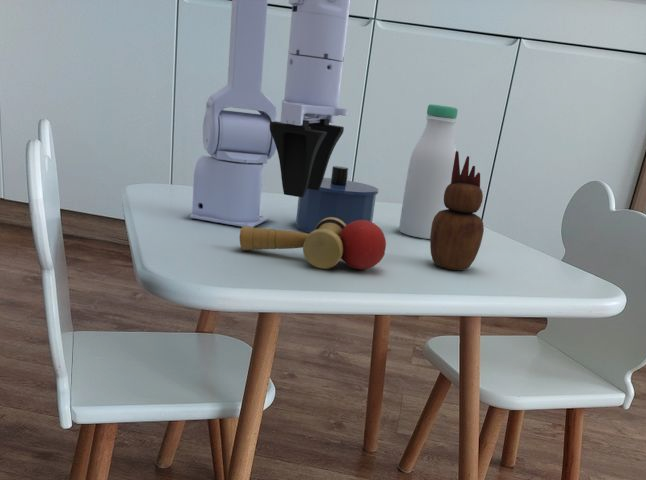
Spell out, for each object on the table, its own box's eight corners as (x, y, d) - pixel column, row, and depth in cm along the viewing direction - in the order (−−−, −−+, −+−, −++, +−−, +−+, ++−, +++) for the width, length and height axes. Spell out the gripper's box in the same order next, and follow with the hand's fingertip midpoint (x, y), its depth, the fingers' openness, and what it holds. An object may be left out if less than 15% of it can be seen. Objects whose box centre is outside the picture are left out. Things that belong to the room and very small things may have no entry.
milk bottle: (439, 242, 107) (463, 108, 100) (392, 233, 109) (412, 101, 102) (449, 235, 114) (472, 109, 107) (405, 227, 116) (424, 102, 109)
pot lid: (287, 189, 99) (290, 164, 97) (309, 181, 110) (311, 158, 109) (370, 203, 97) (373, 177, 96) (383, 193, 108) (386, 170, 107)
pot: (287, 230, 101) (291, 185, 99) (307, 218, 111) (311, 178, 109) (362, 243, 99) (368, 198, 97) (375, 230, 110) (381, 189, 108)
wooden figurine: (421, 266, 91) (440, 149, 85) (431, 258, 96) (450, 148, 90) (471, 276, 89) (494, 158, 83) (478, 268, 94) (501, 156, 89)
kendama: (233, 268, 82) (382, 271, 80) (232, 214, 81) (383, 216, 79) (251, 265, 90) (387, 268, 88) (250, 216, 89) (388, 218, 87)
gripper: (338, 59, 63) (321, 206, 68) (366, 67, 76) (350, 190, 81) (265, 49, 64) (254, 195, 69) (305, 59, 77) (293, 181, 82)
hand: (302, 192), depth 75 cm, fingers open, 6 cm apart
